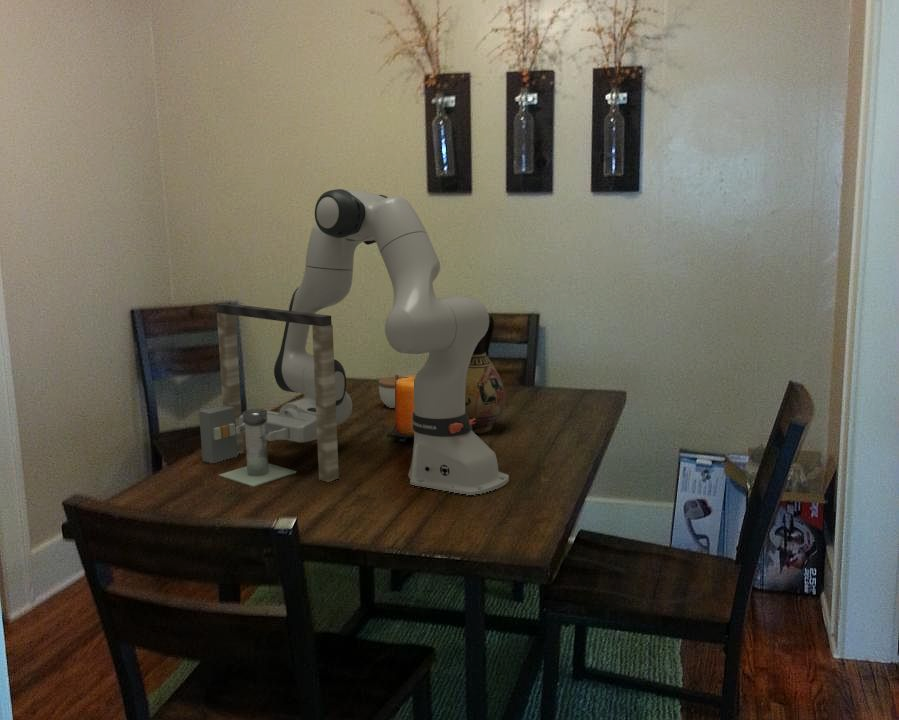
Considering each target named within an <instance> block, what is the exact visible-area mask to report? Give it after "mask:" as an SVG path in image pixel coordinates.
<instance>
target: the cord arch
mask: <svg viewBox="0 0 899 720" xmlns="http://www.w3.org/2000/svg"><path fill="white" fill-rule="evenodd" d="M216 305H217V312H216V319H217V320H216V321H217V336H218V337H217V338H218V351H219V368H220V380H221V381H220V383H221V396H222V405H226V406H230V407H234V408H235V423H236V427H237V426H239V417H240V416H241V415H242V414H243V412H242V403H241V402H242V399H241V383H240V369H239V368H240V366H239V365H240V364H239V350H238V335H237V319H236V317H237V316H239V317H248V318H253V319H254V318H255V319H261V320H270V321H277V322H278V321H279V322H284V323H286V322H291V323H299V324H307V325H310V326H312V327H311V328H312V348H313V349H312V350H313V355H314V376H315V398H316V421H317V441H316V443H317V458H318V459H317V462H318V481H320V480H323V481H327V482H329V481H332V480H334V479H337V478H339V479H340V475H339V452H338V451H339V450H338V428H337V421H336V396H335V371H334V359H335V349H334V327H333V326H334V325H333V324H332V323H333V322H332V315H327V314H319V313H315V314H313V313H304V312H296V311H289V310H286V309H285V310H284V309H279V308H278V309H276V308H271V307H270V308H269V307H260V306H252V305H250V306H249V305H243V304H236V303H235V304H234V303H226V302H225V303H218V304H216ZM236 439H237V455H239V453H240V454H243V452H244V453H245V450H244V446H245V445H244V434H243V435H239V434H236ZM323 481H322V482H323ZM327 482H326V483H327Z"/></svg>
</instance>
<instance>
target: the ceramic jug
mask: <svg viewBox="0 0 899 720" xmlns="http://www.w3.org/2000/svg"><path fill="white" fill-rule="evenodd" d="M488 315H489V327H488V330H487V332H486V334H485V335H484V336H483V338H482V339H481V340H480V341H479V343H478V344H477V346H476V348H475V350H474V352H473V354H472V357H471V360H470V363H469V366H468V370H467V376H466V389H465V411H466V412H467V414H468V417H469V420H470V419H473V418H476V419H475V420H474V421H473V422H476V423H474V424H471V426H472V431H473V432H474V433H479V434H485V433H487V432H491V430H492V428H493V426H494V424H495V422H496V421H497V420H498V419H499V417H501V415H502V413H503V411H504V409H505V405H506V393H505V389H504V384H503V381H502V379H501V377H500V375H499V373H498V371H497V369H496V368H495V365H494V364H493V363H492V361H491V359H490V358H489V355H490V354H489V352H490V351H489V349H490V348H491V347H490V346H491V342H492V338H493V333H494V328H495V326H494V325H495V323H494V322H495V321H494V320H495V319H494V317H493V316H492V315H490V314H488Z"/></svg>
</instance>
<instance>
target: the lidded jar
mask: <svg viewBox="0 0 899 720" xmlns="http://www.w3.org/2000/svg"><path fill="white" fill-rule="evenodd" d="M408 377H409V376H400V375H399V374H395V375H394V376H389V377H383V378H380V379H379V380H377V381H378V382H377V384H378V392H379V397H380V399H381V401H382V403H383V404H384V405H385V406H386V408H388V407H389V408H388V409H390V408H394V407H395V381H396V380H398V379H401V378H408Z"/></svg>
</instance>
